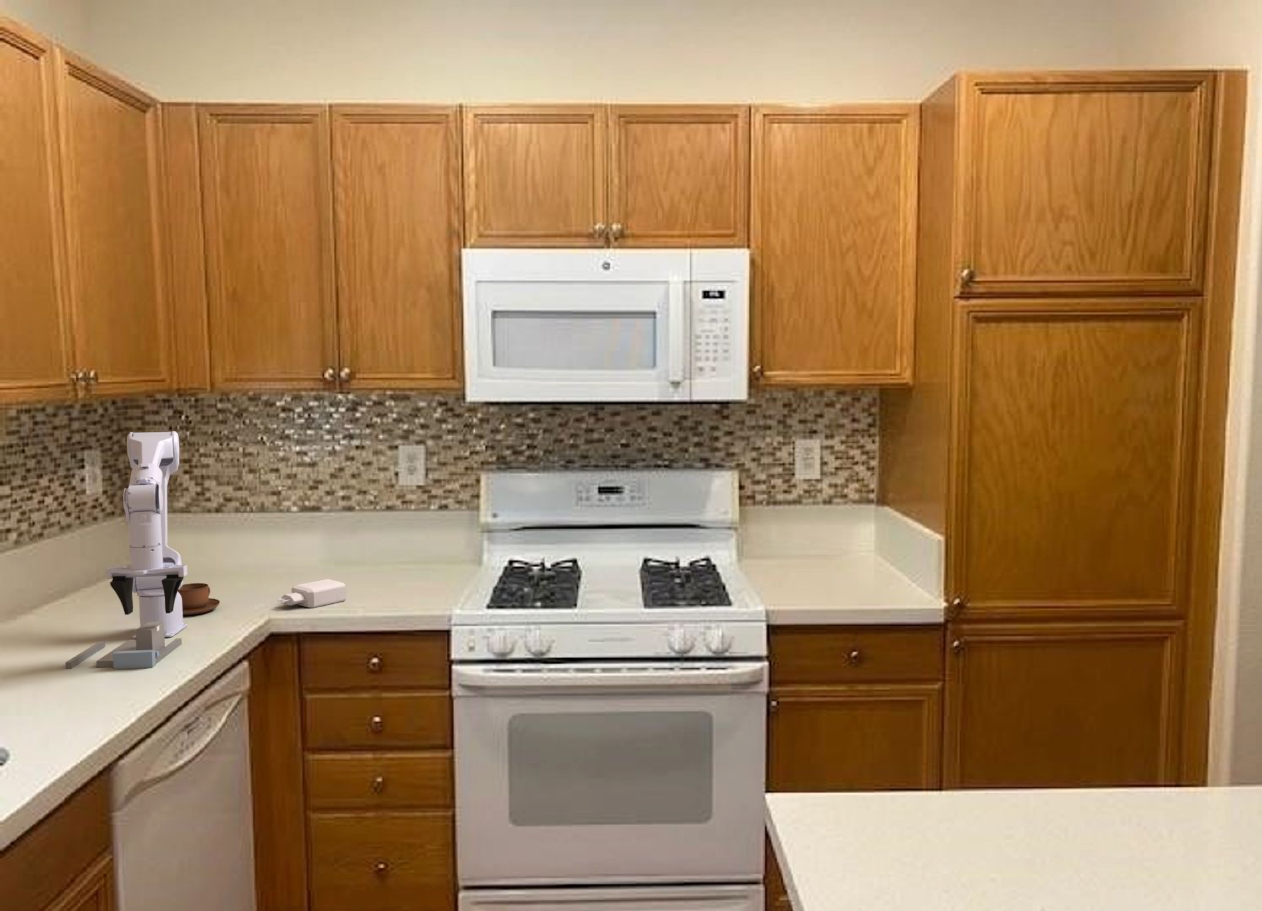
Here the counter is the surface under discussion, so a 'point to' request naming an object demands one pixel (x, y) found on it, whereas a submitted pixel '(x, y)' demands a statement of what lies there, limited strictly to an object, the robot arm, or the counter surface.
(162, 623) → the tall taupe box
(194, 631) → the counter surface
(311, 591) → the charger
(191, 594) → the cup and saucer
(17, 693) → the counter surface
